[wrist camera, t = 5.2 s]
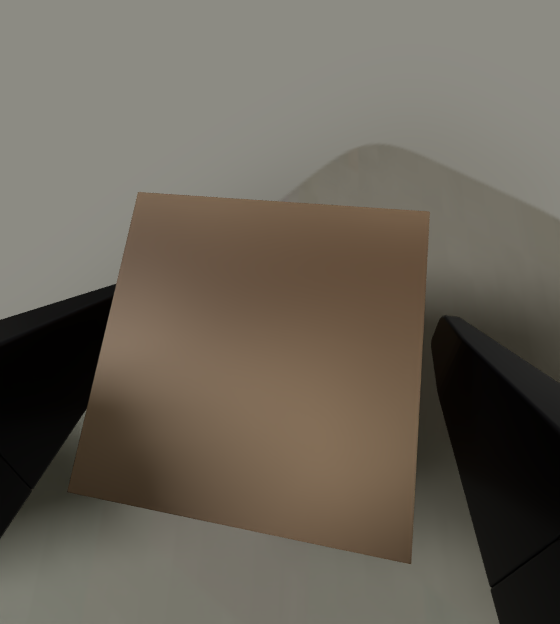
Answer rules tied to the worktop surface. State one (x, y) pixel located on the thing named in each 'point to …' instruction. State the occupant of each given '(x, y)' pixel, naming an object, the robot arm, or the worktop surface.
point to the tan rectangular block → (264, 370)
